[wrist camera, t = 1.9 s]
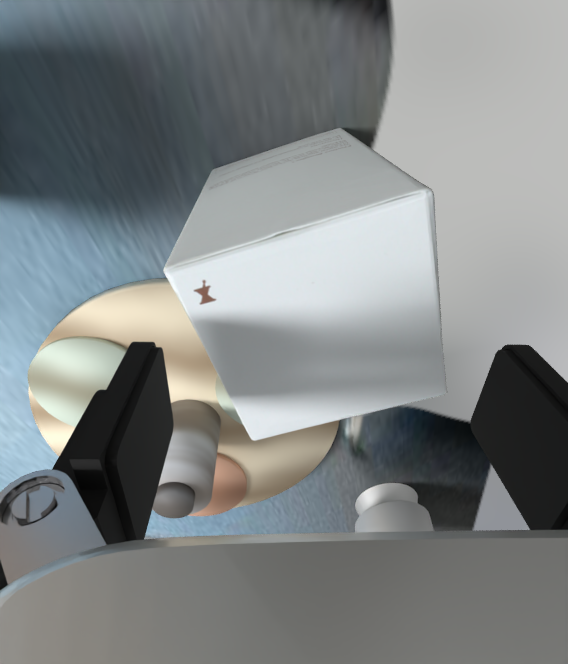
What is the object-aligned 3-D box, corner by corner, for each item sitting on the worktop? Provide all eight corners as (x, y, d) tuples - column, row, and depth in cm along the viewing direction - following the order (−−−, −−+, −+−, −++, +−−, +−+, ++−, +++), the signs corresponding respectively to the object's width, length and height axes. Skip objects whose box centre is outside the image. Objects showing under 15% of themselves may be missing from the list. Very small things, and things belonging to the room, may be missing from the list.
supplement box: (253, 288, 25) (244, 448, 14) (208, 166, 21) (151, 265, 10) (370, 255, 24) (452, 401, 14) (346, 123, 20) (437, 181, 10)
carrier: (-12, 275, 24) (-120, 355, 17) (356, 280, 25) (389, 357, 18) (79, 500, 36) (37, 599, 29) (324, 496, 37) (337, 591, 30)
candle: (431, 478, 36) (520, 696, 24) (413, 523, 40) (482, 731, 27) (356, 478, 36) (405, 700, 23) (345, 523, 39) (383, 735, 27)
